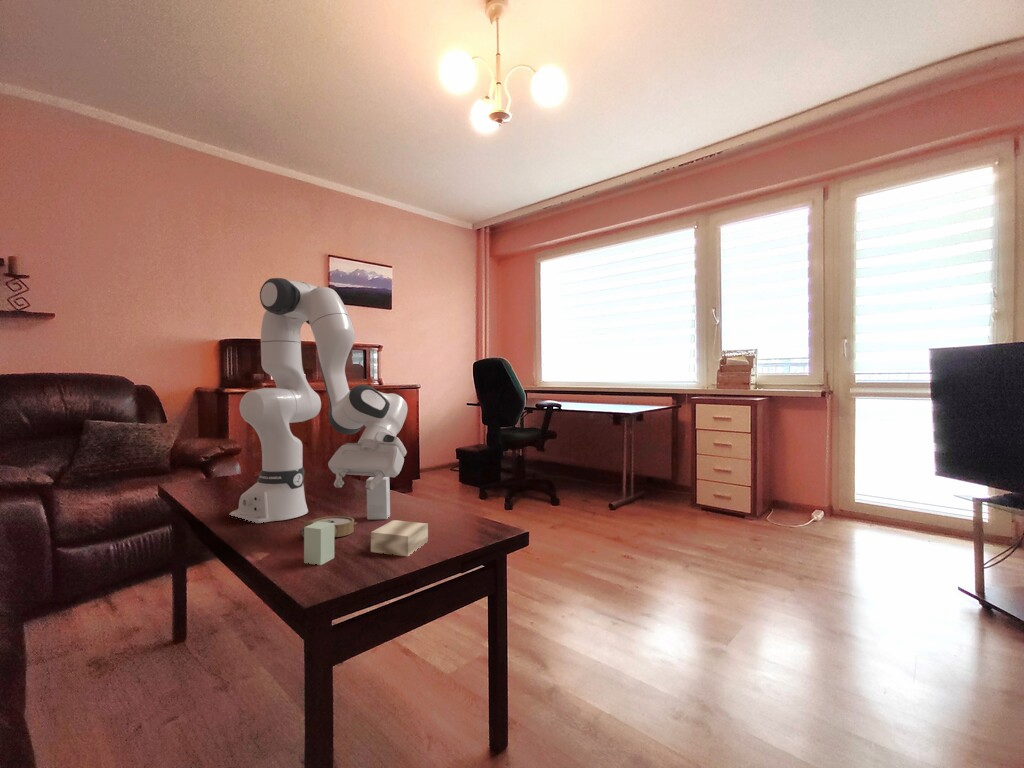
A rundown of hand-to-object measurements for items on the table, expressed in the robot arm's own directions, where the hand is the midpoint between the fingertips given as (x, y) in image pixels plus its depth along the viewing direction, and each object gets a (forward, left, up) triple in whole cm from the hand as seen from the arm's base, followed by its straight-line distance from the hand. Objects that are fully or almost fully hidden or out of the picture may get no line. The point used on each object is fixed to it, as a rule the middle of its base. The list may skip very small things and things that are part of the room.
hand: (352, 487), depth 113 cm
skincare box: (-6, +20, -14) cm, 25 cm away
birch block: (+13, +1, -14) cm, 19 cm away
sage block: (0, -12, -14) cm, 18 cm away
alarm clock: (-10, +3, -14) cm, 18 cm away
